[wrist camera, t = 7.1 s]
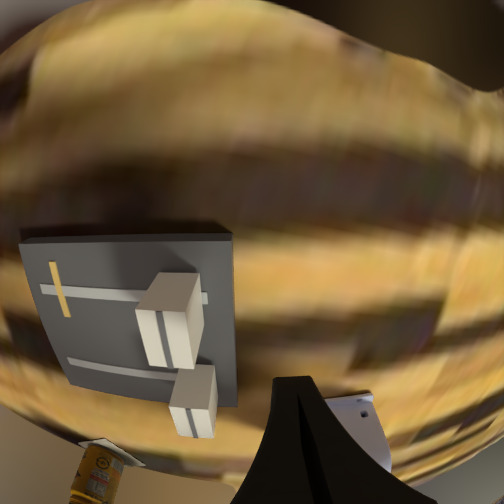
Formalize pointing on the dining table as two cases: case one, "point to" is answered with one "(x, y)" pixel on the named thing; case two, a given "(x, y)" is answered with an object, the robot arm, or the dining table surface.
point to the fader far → (195, 401)
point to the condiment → (100, 472)
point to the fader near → (172, 320)
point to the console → (129, 307)
